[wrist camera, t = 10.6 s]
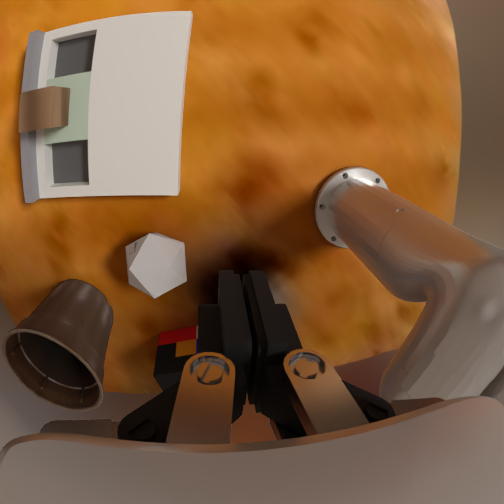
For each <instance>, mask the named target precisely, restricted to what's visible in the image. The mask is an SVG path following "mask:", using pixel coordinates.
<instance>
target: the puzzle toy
mask: <svg viewBox="0 0 504 504" xmlns="http://www.w3.org/2000/svg"><path fill="white" fill-rule="evenodd" d="M196 354H198V326H193V327H188V328H183V329H178V330H172V331H167V332H161V333H160V336H159V342H158V349H157V355H156V362H155V368H154V375H153V376H154V377H155V379H156V381H157V382H158V384H159V385H160V387H161V388H162V390H163V391H165V390H166V389H168V388H169V387H171V386H172V385H173V384H175V383H176V382H178V381H179V380H181V377H182V373H183V369H184V366H185V364H186V362H187V361H188V360H189V359H190V358H191V357H192V356H194V355H196Z"/></svg>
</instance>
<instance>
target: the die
mask: <svg viewBox="0 0 504 504" xmlns="http://www.w3.org/2000/svg"><path fill="white" fill-rule="evenodd" d="M125 249H126V261H127V271H128V281H129V284H130V285H132V286H133V287H135V288H137V289H139V290H140V291H142V292H144V293H146V294H148V295H149V296H151V297H153V298H157V297H158V296H160V295H162V294H164V293H166V292H168V291H170V290H171V289H173V288H175V287H177V286H179V285H181V284H183V283H184V282H186V281H187V275H186V262H185V247H184V243H183V242H181V241H178V240H175V239H173V238H170V237H167V236H165V235H162V234H160V233H149V234H147V235H145V236H144V237H142V238H140V239H138V240H136V241H135V242H133V243H131V244H129V245H128V246H126V247H125Z"/></svg>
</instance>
